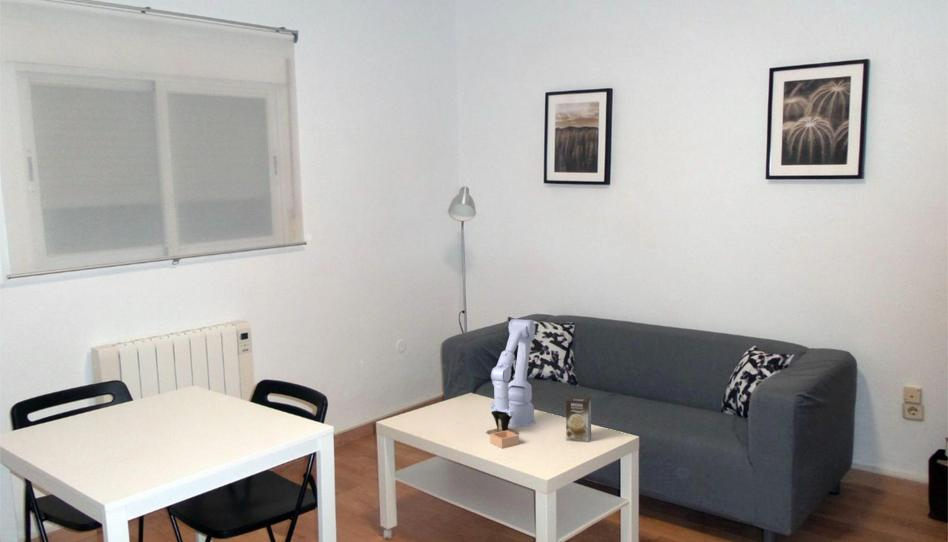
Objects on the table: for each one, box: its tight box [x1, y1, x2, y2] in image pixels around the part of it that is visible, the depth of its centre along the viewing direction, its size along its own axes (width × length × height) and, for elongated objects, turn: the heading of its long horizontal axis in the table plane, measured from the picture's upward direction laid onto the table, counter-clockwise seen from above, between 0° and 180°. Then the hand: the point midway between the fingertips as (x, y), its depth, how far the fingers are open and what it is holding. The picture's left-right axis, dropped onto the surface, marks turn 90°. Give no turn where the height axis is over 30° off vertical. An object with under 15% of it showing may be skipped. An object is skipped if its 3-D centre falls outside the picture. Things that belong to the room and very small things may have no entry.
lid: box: [486, 419, 519, 435], centre depth 309 cm, size 9×9×6 cm
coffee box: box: [565, 396, 592, 443], centre depth 300 cm, size 9×6×16 cm
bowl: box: [489, 430, 520, 450], centre depth 296 cm, size 8×8×4 cm
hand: (502, 429), depth 309 cm, fingers closed on lid, 3 cm apart
